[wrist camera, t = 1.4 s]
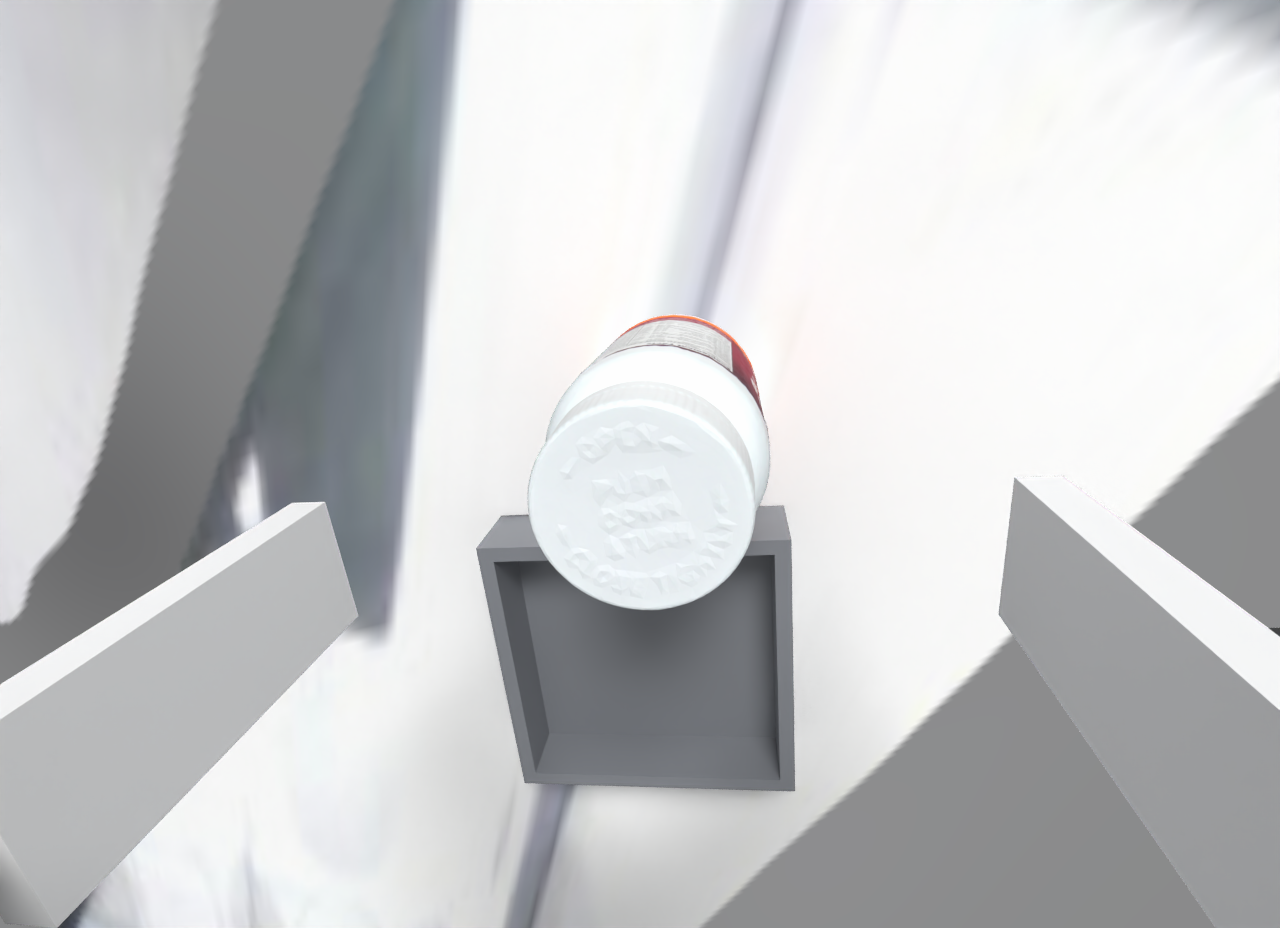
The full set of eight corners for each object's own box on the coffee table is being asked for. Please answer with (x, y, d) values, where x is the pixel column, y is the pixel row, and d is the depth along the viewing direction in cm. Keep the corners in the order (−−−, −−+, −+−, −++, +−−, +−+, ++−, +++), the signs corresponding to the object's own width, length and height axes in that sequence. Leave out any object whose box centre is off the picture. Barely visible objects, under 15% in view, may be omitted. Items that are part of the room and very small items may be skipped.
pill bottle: (744, 474, 25) (759, 651, 15) (593, 455, 26) (503, 613, 15) (768, 319, 23) (807, 396, 12) (603, 302, 23) (505, 362, 13)
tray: (542, 733, 31) (524, 783, 28) (501, 515, 27) (476, 548, 24) (788, 738, 29) (794, 791, 27) (783, 505, 25) (791, 539, 22)
